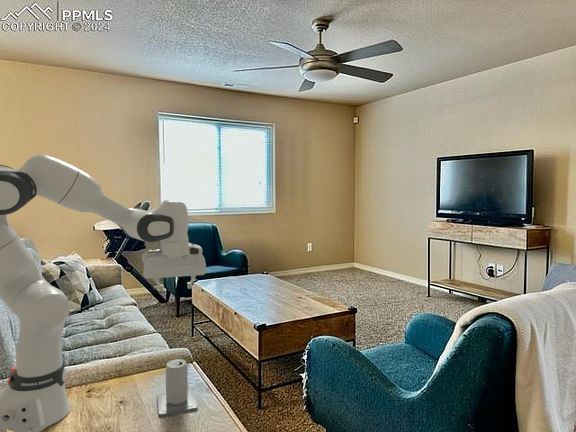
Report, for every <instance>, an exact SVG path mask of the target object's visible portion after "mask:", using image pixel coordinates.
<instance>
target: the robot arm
mask: <svg viewBox="0 0 576 432" xmlns="http://www.w3.org/2000/svg"><path fill="white" fill-rule="evenodd" d="M36 196H38V197H41V198H45V199H46V200H49V201H51V202H53V203H55V204H57V205H60V206H62V207H64V208H68V209H70V210H72V211H77V212H80V213H91V214H95V215H98V216H100V217H102V218H104V219H105V220H107V221H110V222H112V223H114V224H116V225H117V226H118V227H119V228H120V229H121V230H122V231H123V233H124V234H125V235H126V236H128V237H129V238H131V239H136V240H139V241H142V242H145V243H155V242H160V249H153V250H152V249H147V250H146V251H144V252H143V253H142V254H141V262H142V263H143V270H142V271H143V272H142V273H143V278H145V279H146V280H147V279H154V282H155V284H156V285H157V286H158V291H159V292H162V291H164V284H163V283H162V284H161V283H160V282H159V281H160V279H165V278H166V279H167V278H176V277H177V278H178V277H190V278H191V279H190V281H188V282H187V283H186V284H187V289H189V290H190V289H193V283H194V282H195V281H196V277H197V276H204V275H205V274H206V273H207V263H206V259H205V257H204V254H203V248H202V247H201V246H200V245H198V244H194V243H191V242H190V241H189V235H188V231H189V212H188V206H187V205H186V204H185V203H184V202H182V201H175V200H171V199H170V200H169V199H166V200H163V201H162V202H161V203H160V204H159V205H157V206H155V207H153V208H151V209H149V210H145V209H142V208H133V207H132V208H131V207H128V206H126V205H123V204H122V203H120V202H118V201H116V200H115V199H112V198H111V197H109V196H108V195H106V193H104V191H103V189H102V186H101V184H100V182H99V181H97V180H96V179H95V178H94V177H92V176H91V175H90V174H88V173H86V172H85V171H84V170H81V169H79V168H78V167H76V166H74V165H72V164H70V163H67V162H66V161H63V160H60V159H58V158H56V157H52V156H50V155H47V154H41V153H40V154H35V155H32V156H31V157H30V158H29V159H27V160H26V161H25V162H24V164H23V165H22V166H21V167H19V168H16V169H14V168H13V167H10V166H7V165H4V164H0V299H1V300H2V301H3V302H4V304H5V305H6V306H7V307H8V309H9V310H10V312H11V313H13V314H14V315H16V316H17V318H18V321H19V332H18V339H17V342H16V343H15V364H16V365H15V366H13V367H12V369H11V370H10V374H9V375H8V379H7V386H6V387H5V388H3V389H1V391H0V432H7V429H8V430H9V431H10V430H11V431H13V432H42V431H44V429H46V428H48V427H50V426H52V425H54V424H56V423H58V422H59V421H61V420H63V419H64V418H65V417H66V416H67V415H68V414H69V413H70V411H71V410H72V409H71V408H72V406H71V403H70V401H69V399H68V395H67V391H66V385H65V382H66V368H65V362H64V361H63V344H62V342H63V341H62V340H63V333H64V332H63V331H64V327H65V321H66V320H67V319H68V317H69V315H70V312H71V304H70V301H69V298H68V297H67V296H66V294H65V293H64V292H63V290H61V289H59V288H57V287H56V286H53V285H52V284H50V283H49V282H48V281H47V280H46V279H45V278H44V276H43V274H42V273H41V272H40V269H39V267H38V265H37V263H36V261H35V257H34V256H33V255H32V253H31V251H30V250H29V249H28V247H27V246H26V245H25V244H24V241H23V240H22V239H21V238H20V236H19V234H17V232H16V230H15V229H14V228H13V227H12V225H11V223H10V221H9V219H8V215H10V214H14V213H16V212H18V211H19V210H21V209H22V208H23V207H25V206H26V205H27V204H28V203H29V202H30V201H32V200H34V198H35V197H36ZM29 430H30V431H29Z"/></svg>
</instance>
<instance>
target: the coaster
mask: <svg viewBox="0 0 576 432" xmlns="http://www.w3.org/2000/svg"><path fill="white" fill-rule="evenodd" d="M157 406H158V407H157V409H158V411H157V412H158V418H160V417H165V416H171V415H176V414H181V413H186V412H193V411H194V412H195V411H198V402H197V399H196V394H195V390H194V387H192V388H188V398H187V400H186V401H185V402H183V403H182V404H179V405H172V404H170V403H168V402H167V401H166V392H161V393H157Z"/></svg>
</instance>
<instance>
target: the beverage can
mask: <svg viewBox="0 0 576 432" xmlns="http://www.w3.org/2000/svg"><path fill="white" fill-rule="evenodd" d="M188 371H189V370H188V364H187V360H185V359H181V358H175V359H172V360H169V361H168V362H167V363H166V367H165V393H166V401H167V402H168V403H170V404H172V405H179V404H182V403H183V402H185V401H186V400H187V398H188V389H189V387H188V386H189V385H188V383H189V381H188V379H189V377H188V374H189V373H188Z"/></svg>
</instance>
